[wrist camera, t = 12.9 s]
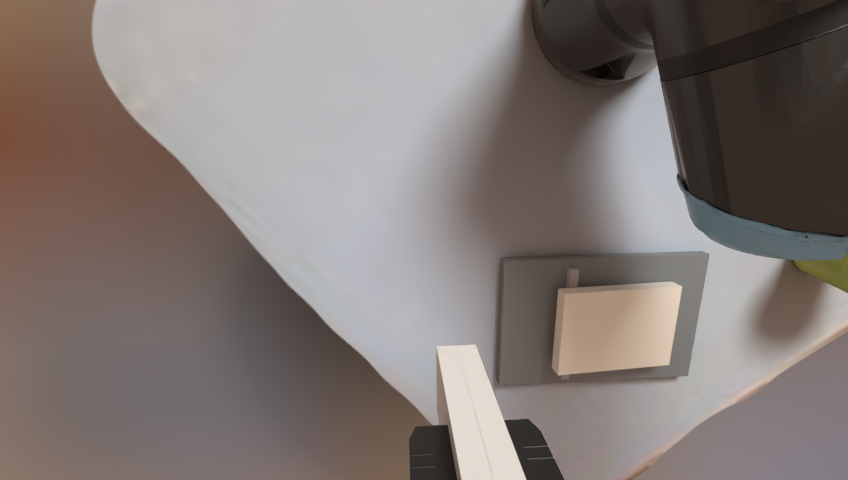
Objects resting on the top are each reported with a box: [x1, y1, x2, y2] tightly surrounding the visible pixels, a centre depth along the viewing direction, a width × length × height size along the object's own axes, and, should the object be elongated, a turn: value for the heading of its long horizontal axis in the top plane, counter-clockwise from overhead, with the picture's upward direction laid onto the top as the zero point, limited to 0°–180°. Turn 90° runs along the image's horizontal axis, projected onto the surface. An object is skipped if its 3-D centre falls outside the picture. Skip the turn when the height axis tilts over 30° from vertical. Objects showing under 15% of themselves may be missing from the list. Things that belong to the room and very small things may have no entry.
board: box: [497, 251, 709, 386], centre depth 47 cm, size 24×16×2 cm, turn 91°
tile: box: [552, 281, 682, 375], centre depth 46 cm, size 2×10×14 cm
